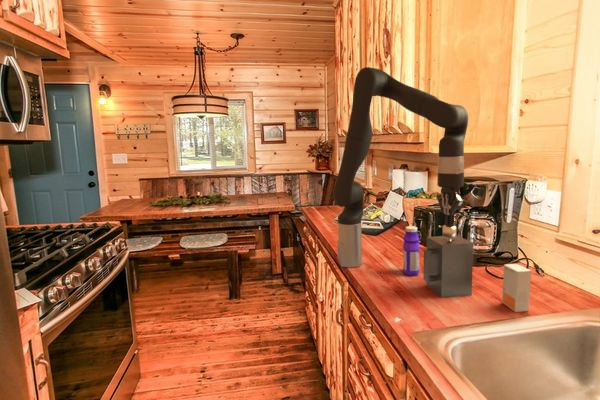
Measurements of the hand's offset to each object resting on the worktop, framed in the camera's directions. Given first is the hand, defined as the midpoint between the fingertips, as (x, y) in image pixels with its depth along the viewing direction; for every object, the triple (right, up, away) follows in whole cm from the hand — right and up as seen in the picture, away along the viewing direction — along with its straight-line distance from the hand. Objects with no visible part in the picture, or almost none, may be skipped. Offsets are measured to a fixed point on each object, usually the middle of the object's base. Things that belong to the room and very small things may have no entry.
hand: (449, 226), depth 113 cm
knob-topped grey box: (-1, -21, +3) cm, 21 cm away
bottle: (-6, -19, +19) cm, 28 cm away
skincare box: (+15, -23, -10) cm, 29 cm away
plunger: (+1, -19, +3) cm, 19 cm away
